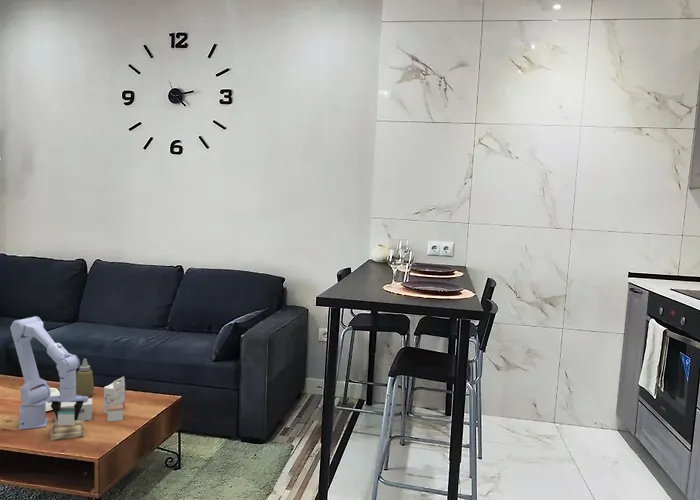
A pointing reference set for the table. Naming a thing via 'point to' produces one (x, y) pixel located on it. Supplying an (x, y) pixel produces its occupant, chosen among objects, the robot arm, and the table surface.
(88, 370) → the squeeze bottle
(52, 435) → the oak tray
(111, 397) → the ink cartridge box
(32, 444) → the table surface
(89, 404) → the printer unit
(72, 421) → the small white teal box
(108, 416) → the light grey block
